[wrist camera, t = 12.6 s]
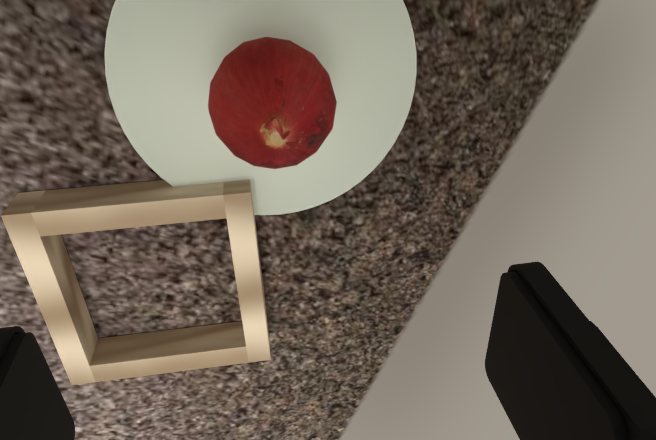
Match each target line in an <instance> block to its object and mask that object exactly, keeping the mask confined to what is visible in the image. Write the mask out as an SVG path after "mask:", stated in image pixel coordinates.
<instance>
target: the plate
mask: <svg viewBox="0 0 656 440" xmlns="http://www.w3.org/2000/svg"><path fill="white" fill-rule="evenodd" d="M263 37H272V38H278V39H285V40H290V41H292V42H293V43H295V44H297V45H299V46H300V47H302V48H304V49H306V50H308V51H309V52H311V53H313V54H314V55H315V56H316V58H317V59H318V60H319V62H320V63H321V64H322V66H323V67H324V68H325V70H326V71H327V72H328V74H329V76H330V80H331V83H332V87H333V90H334V94H335V97H336V101H337V104H336V111H335V118H334V124H333V129H332V131H331V132H330V133H329V135H328V136H327V138H326V139H325V141H324V142H323V144H322V145H321V146H320V148H319V149H318V151H317V152H316V153H315V154H313V155H312V156H310V157H309V158H307V159H306V160H304V161H302V162H301V163H299V164H298V165H296V166H290V167H284V168H279V169H270V168H264V167H257V166H253V165H251V164H249V163H247V162H245V161H244V160H242V159H240V158H238V157H236V156H234V155H233V153H232V152H231V151H230V150H229V149H228V148H227V147H226V146H225V144H224V143H223V142H222V141H221V140H220V139H219V138H218V136H217V135H216V133H215V130H214V127H213V123H212V120H211V117H210V114H209V110H208V100H209V90H210V82H211V80H212V79H213V77H214V75H215V73H216V71H217V70H218V68H219V66H220V64H221V62H222V60H223V59H224V57H225V56H226V55H228V54H229V53H230V52H231V51H233V50H234V49H235V48H236V47H238V46H239V45H240V44H241V43H243V42H246V41H250V40H254V39H259V38H263ZM105 75H106V80H107V86H108V91H109V96H110V99H111V102H112V105H113V108H114V111H115V114H116V116H117V119H118V121H119V123H120V125H121V127H122V129H123V131H124V133H125V135H126V136H127V138H128V139H129V141H130V143H131V144H132V146H133V147H134V149H135V150H136V151H137V153H138V154H139V155H140V156H141V157H142V159H143V160H144V161H145V162H146V163H147V165H148V166H149V167H151V168H152V169H153V170H154V171H155V172H156V173H157V174H158V175H159V176H160V177H161V178H162V179H164V180H165V181H166V182H168V183H169V184H170V185H172V186H173V187H178V186H189V185H200V184H211V183H222V182H233V181H244V180H250V184H251V193H252V201H253V209H254V215H280V214H286V213H292V212H298V211H302V210H305V209H309V208H313V207H315V206H318V205H320V204H323V203H325V202H328V201H330V200H332V199H334V198H336V197H338V196H339V195H341V194H343V193H345V192H346V191H348V190H349V189H351V188H352V187H354V186H355V185H356V184H358V183H359V182H360V181H362V180H363V179H364V178H365V177H366V176H367V175H368V174H369V173H371V172H372V171H373V170H374V169H375V167H376V166H377V165H378V164H379V163H380V162H381V161H382V160H383V158H384V157H385V156H386V154H387V153H388V152H389V150H390V149H391V147H392V146H393V144H394V143H395V141H396V139H397V137H398V135H399V134H400V132H401V130H402V128H403V126H404V123H405V120H406V118H407V115H408V113H409V110H410V106H411V102H412V98H413V94H414V89H415V81H416V46H415V39H414V32H413V29H412V25H411V21H410V17H409V14H408V11H407V9H406V6H405V4H404V2H403V0H116V1H115V3H114V6H113V8H112V11H111V15H110V19H109V23H108V28H107V32H106V42H105Z"/></svg>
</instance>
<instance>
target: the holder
mask: <svg viewBox="0 0 656 440" xmlns="http://www.w3.org/2000/svg"><path fill="white" fill-rule="evenodd" d="M1 217H2V219H3V222H4V224H5V227H6V229H7V231H8V234H9V236H10V239H11V241H12V243H13V246H14V248H15V251H16V253H17V255H18V258H19V260H20V262H21V265H22V267H23V270H24V272H25V274H26V277H27V279H28V282H29V284H30V286H31V289H32V291H33V294H34V296H35V298H36V301H37V303H38V306H39V308H40V310H41V313H42V315H43V318H44V320H45V322H46V325H47V327H48V329H49V332H50V334H51V337H52V339H53V341H54V344H55V346H56V349H57V351H58V353H59V356H60V358H61V361H62V363H63V365H64V368H65V370H66V373H67V375H68V377H69V380H70V382H71V384H72V385H76V384H84V383H92V382H100V381H108V380H115V379H123V378H131V377H139V376H147V375H154V374H162V373H170V372H178V371H186V370H193V369H201V368H209V367H217V366H224V365H232V364H240V363H248V362H256V361H263V360H271V357H270V343H269V331H268V323H267V314H266V306H265V297H264V289H263V281H262V272H261V264H260V255H259V247H258V238H257V230H256V221H255V215H254V209H253V201H252V193H251V184H250V180H244V181H233V182H222V183H211V184H200V185H189V186H178V187H173V186H172V185H170V184H169V183H168V182H166V181H165V180H157V181H146V182H134V183H123V184H112V185H101V186H90V187H78V188H67V189H56V190H45V191H34V192H23V193H17V195H16V196H15V197H14V199H13V200H12V201H11V203H10V204H9V205H8V207H7V208H6V210H5V211H4V212H3V214H2V215H1ZM224 218H227V225H228V231H229V238H230V244H231V251H232V257H233V264H234V270H235V277H236V284H237V290H238V297H239V303H240V310H241V316H242V321H239V322H231V323H223V324H214V325H206V326H198V327H189V328H181V329H173V330H164V331H156V332H148V333H139V334H131V335H123V336H114V337H106V338H98V337H97V334H96V331H95V328H94V325H93V323H92V320H91V317H90V314H89V311H88V308H87V306H86V303H85V300H84V297H83V294H82V292H81V289H80V286H79V283H78V280H77V277H76V275H75V272H74V269H73V266H72V263H71V261H70V258H69V255H68V252H67V249H66V246H65V244H64V241H63V238H62V235H61V234H71V233H82V232H92V231H102V230H112V229H122V228H132V227H143V226H153V225H163V224H173V223H183V222H193V221H204V220H214V219H224Z"/></svg>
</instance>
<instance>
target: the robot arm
mask: <svg viewBox="0 0 656 440" xmlns="http://www.w3.org/2000/svg"><path fill="white" fill-rule="evenodd" d="M485 369H486V373H487V376H488V379H489V381H490V383H491V384H492V387H493V388H494V390H495V392H496V394H497V396H498V398H499V400H500V402H501V404H502V406H503V408H504V410H505V412H506V414H507V416H508V417H509V419H510V421H511V423H512V425H513V427H514V429H515V431H516V433H517V435H518V437H519V438H520V440H656V398H655V396H654V395H653V394H652V393H651V392H650V390H649V389H648V388H647V387H646V385H645V384H644V383H643V382H642V381H641V380H640V378H639V377H638V376H637V375H636V374H635V372H634V371H633V370H632V369H631V367H630V366H629V365H628V364H627V362H626V361H625V360H624V359H623V358H622V356H621V355H620V354H619V353H618V352H617V350H616V349H615V348H614V347H613V346H612V344H611V343H610V342H609V341H608V339H607V338H606V337H605V336H604V335H603V333H602V332H601V331H600V330H599V329H598V327H596V326H595V325H594V324H593V323H592V322H591V321H589V320H588V319H587V317H586V316H585V315H584V314H583V313H582V311H581V310H580V309H579V308H578V307H577V305H576V304H575V303H574V302H573V300H572V299H571V298H570V297H569V296H568V294H567V293H566V292H565V291H564V289H563V288H562V287H561V286H560V285H559V283H558V282H557V281H556V280H555V279H554V277H553V276H552V275H551V274H550V272H549V271H548V270H547V269H546V267H545V266H544V265H543V264H542V263H540V262H532V263H525V264H516V265H511V266H510V267H509V269H508V272H507V273H503V274H502V276H501V279H500V284H499V289H498V295H497V300H496V305H495V311H494V316H493V321H492V327H491V332H490V337H489V343H488V349H487V353H486V359H485ZM74 437H75V425H74V421H73V418H72V416H71V414H70V412H69V410H68V408H67V405H66V403H65V401H64V399H63V397H62V395H61V392H60V390H59V388H58V386H57V384H56V382H55V379H54V377H53V375H52V373H51V371H50V369H49V366H48V364H47V362H46V360H45V358H44V356H43V353H42V351H41V349H40V347H39V345H38V343H37V340H36V338H35V336H34V335H33V334H32V333H25V332H24V330H23V329H22V328H21V327H19V326H15V327H7V328H0V440H74Z"/></svg>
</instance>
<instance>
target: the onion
mask: <svg viewBox="0 0 656 440" xmlns="http://www.w3.org/2000/svg"><path fill="white" fill-rule="evenodd" d="M336 104H337V101H336V97H335V94H334V90H333V87H332V83H331V80H330V76H329V74H328V72H327V71H326V70H325V68H324V67H323V66H322V64H321V63H320V62H319V60H318V59H317V58H316V56H315V55H314V54H313V53H311V52H309V51H308V50H306V49H304V48H302V47H300V46H299V45H297V44H295V43H293V42H292V41H290V40H285V39H278V38H272V37H263V38H259V39H254V40H250V41H246V42H243V43H241V44H240V45H239V46H238V47H236V48H235V49H234V50H233V51H231V52H230V53H229V54H228V55H226V56H225V57H224V59H223V60H222V62H221V64H220V66H219V68H218V70H217V71H216V73H215V75H214V77H213V79H212V80H211V82H210V90H209V100H208V110H209V114H210V117H211V120H212V123H213V127H214V130H215V133H216V135H217V136H218V138H219V139H220V140H221V141H222V142H223V143H224V144H225V146H226V147H227V148H228V149H229V150H230V151H231V152H232V153H233V155H234V156H236V157H238V158H240V159H242V160H244V161H245V162H247V163H249V164H251V165H253V166H257V167H264V168H270V169H279V168H284V167H290V166H296V165H298V164H299V163H301V162H302V161H304V160H306V159H307V158H309V157H310V156H312V155H313V154H315V153H316V152H317V151H318V149H319V148H320V146H321V145H322V144H323V142H324V141H325V139H326V138H327V136H328V135H329V133H330V132H331V131H332V129H333V124H334V118H335V111H336Z"/></svg>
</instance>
